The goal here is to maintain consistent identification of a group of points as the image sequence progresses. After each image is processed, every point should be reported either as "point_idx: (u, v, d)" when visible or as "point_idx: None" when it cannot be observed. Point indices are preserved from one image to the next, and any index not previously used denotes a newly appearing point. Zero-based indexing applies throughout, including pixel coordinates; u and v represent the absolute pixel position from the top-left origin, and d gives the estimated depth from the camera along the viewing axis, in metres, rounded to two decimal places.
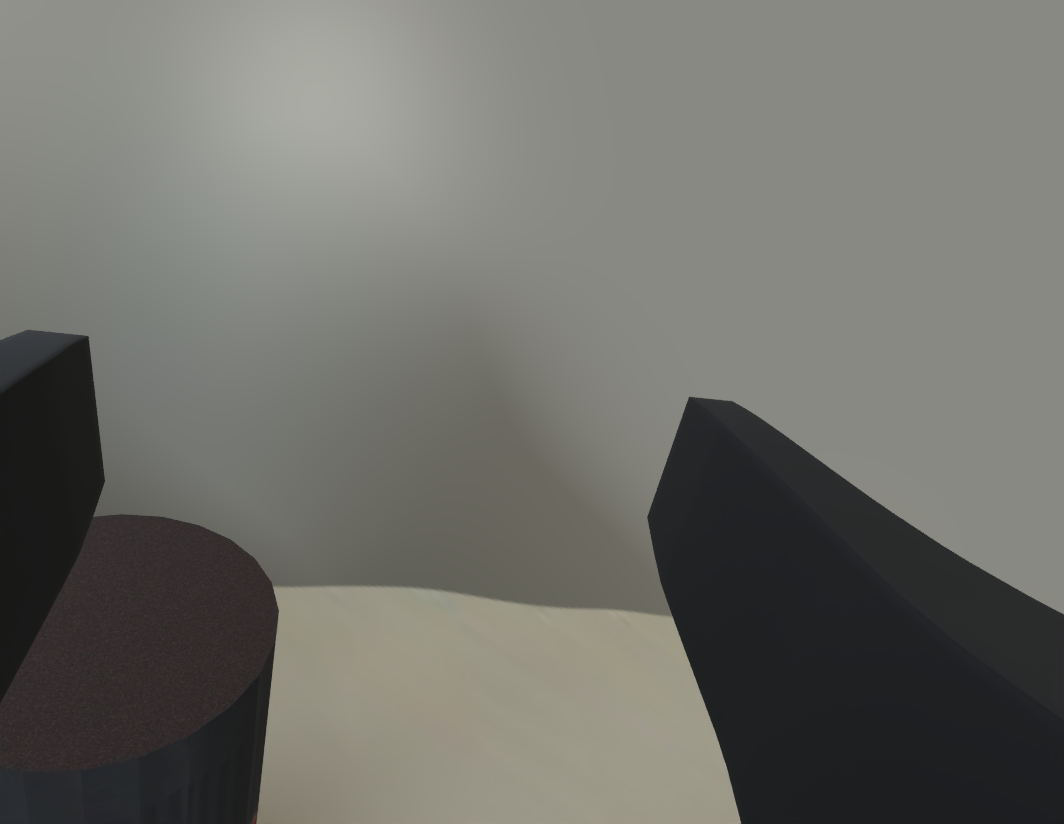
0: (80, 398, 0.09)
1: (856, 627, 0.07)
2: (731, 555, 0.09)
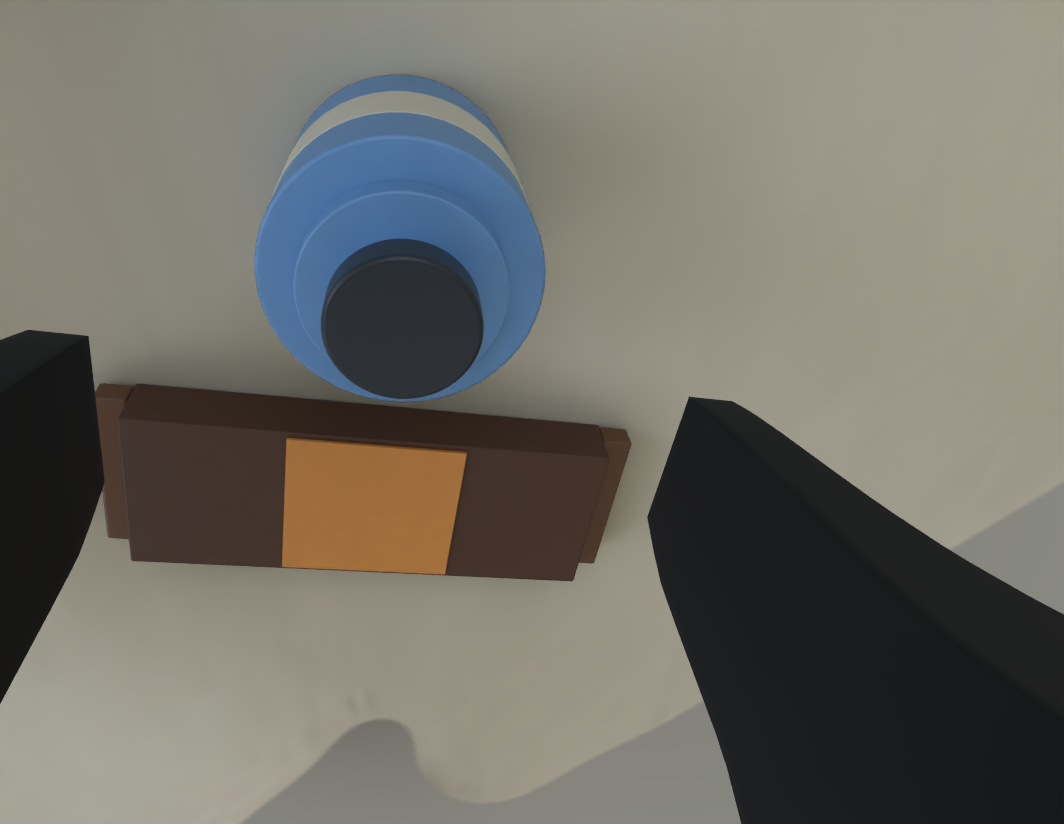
0: (80, 399, 0.09)
1: (856, 627, 0.07)
2: (731, 555, 0.09)
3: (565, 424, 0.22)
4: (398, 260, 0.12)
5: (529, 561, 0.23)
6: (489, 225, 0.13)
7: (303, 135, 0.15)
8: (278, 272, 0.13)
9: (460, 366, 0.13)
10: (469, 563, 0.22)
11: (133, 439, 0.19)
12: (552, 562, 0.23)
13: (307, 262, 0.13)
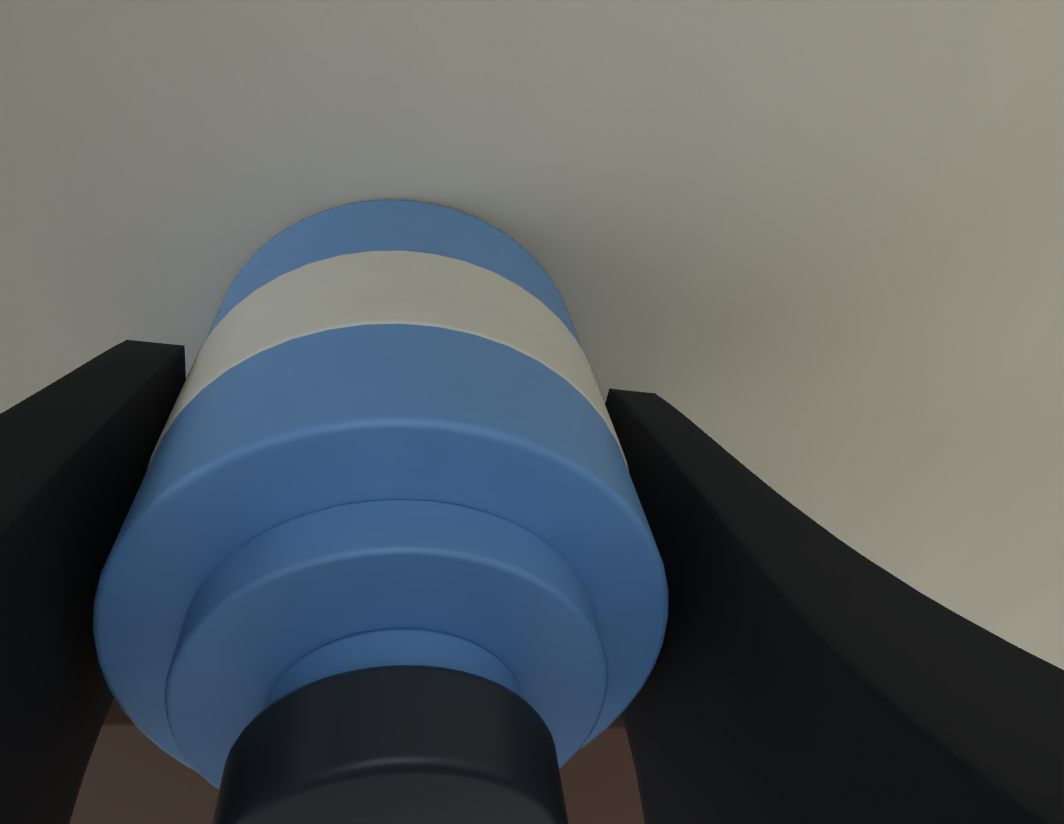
0: None
1: (741, 623, 0.06)
2: None
3: None
4: (380, 765, 0.05)
5: None
6: (569, 563, 0.07)
7: (215, 332, 0.08)
8: (144, 655, 0.07)
9: None
10: None
11: None
12: None
13: (191, 676, 0.06)
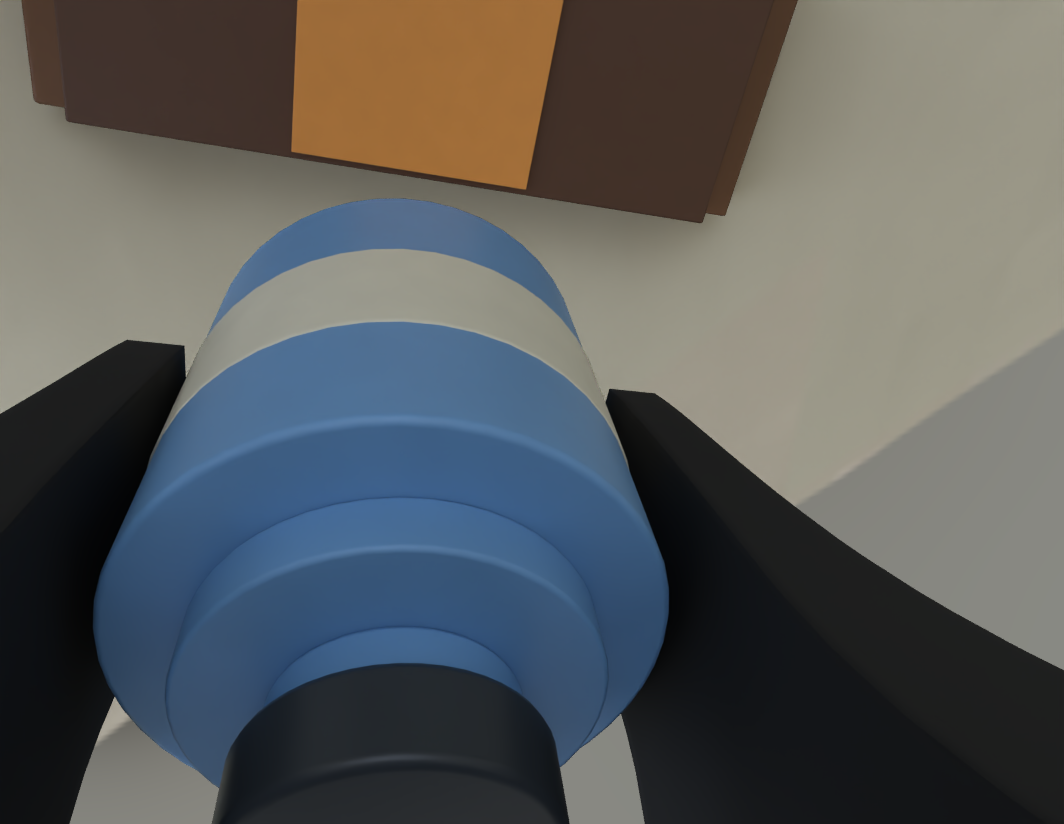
0: None
1: (741, 623, 0.06)
2: None
3: None
4: (380, 763, 0.05)
5: (645, 178, 0.16)
6: (569, 561, 0.07)
7: (216, 331, 0.08)
8: (144, 654, 0.07)
9: None
10: (561, 174, 0.15)
11: None
12: (678, 184, 0.16)
13: (191, 674, 0.06)
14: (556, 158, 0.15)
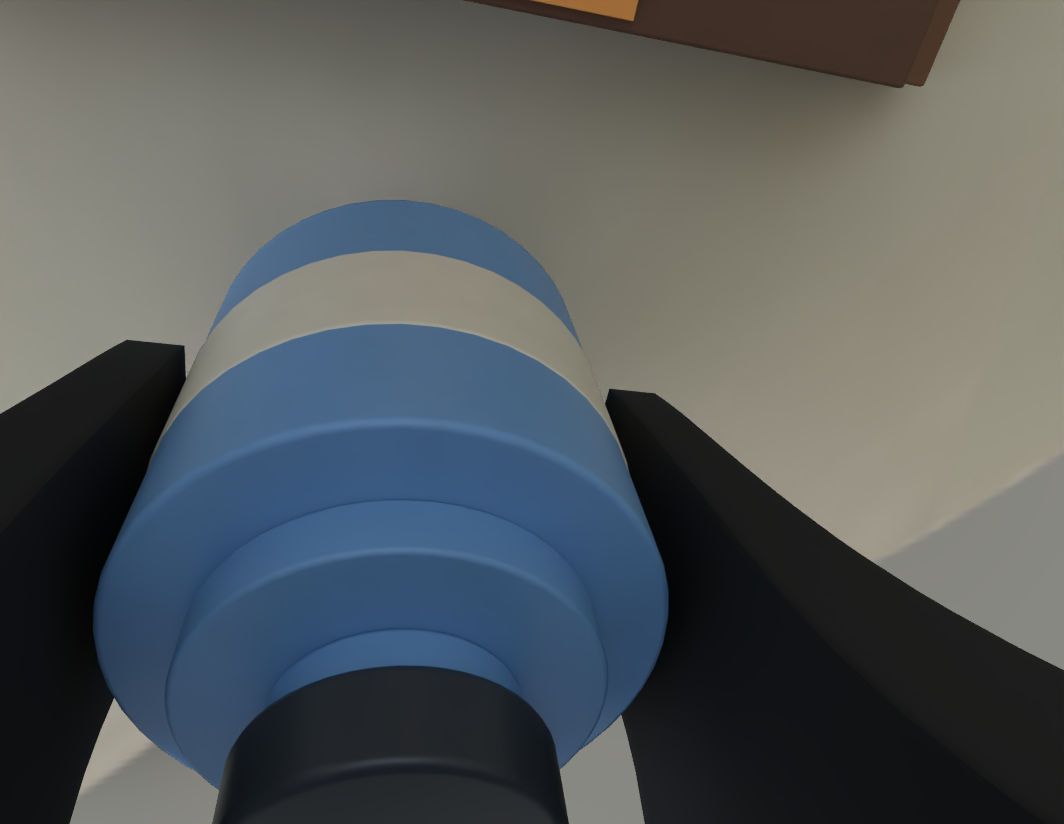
0: None
1: (740, 623, 0.06)
2: None
3: None
4: (380, 766, 0.05)
5: (825, 6, 0.10)
6: (568, 563, 0.07)
7: (215, 332, 0.08)
8: (143, 655, 0.07)
9: None
10: None
11: None
12: (874, 18, 0.10)
13: (190, 676, 0.06)
14: None
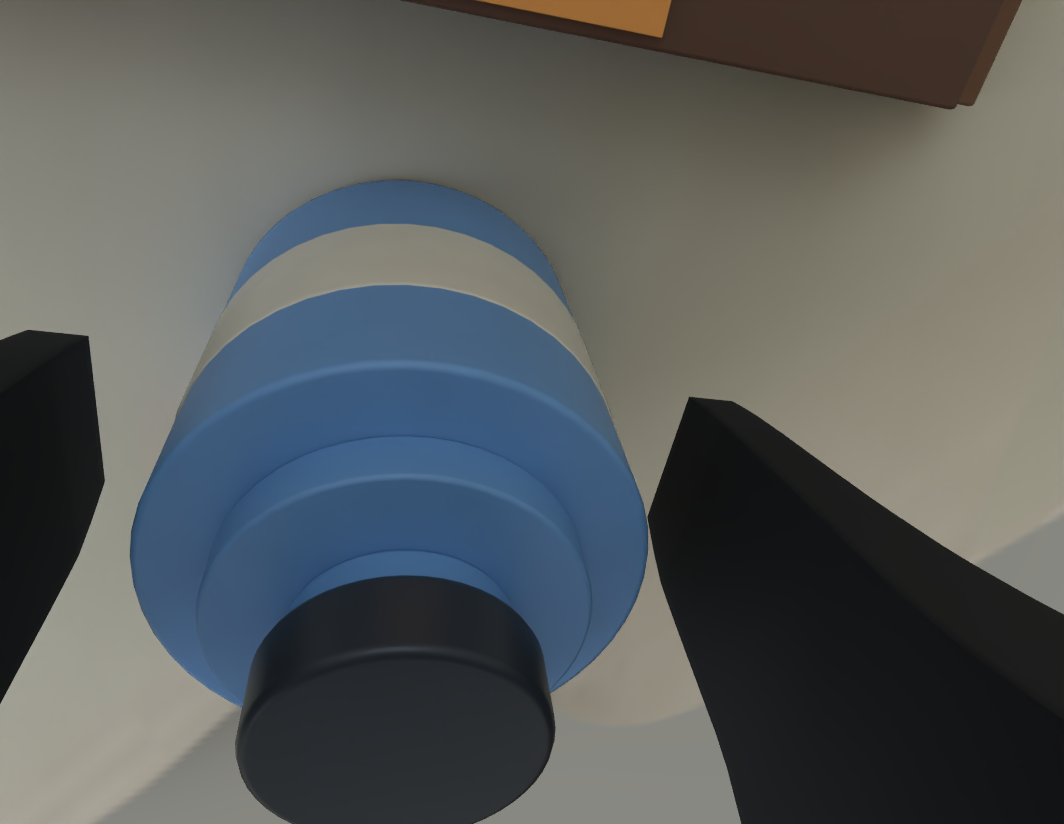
0: (81, 399, 0.09)
1: (856, 627, 0.07)
2: (731, 555, 0.09)
3: None
4: (389, 653, 0.06)
5: (872, 21, 0.09)
6: (556, 498, 0.07)
7: (236, 298, 0.09)
8: (175, 581, 0.07)
9: (508, 791, 0.07)
10: (726, 10, 0.08)
11: None
12: (927, 34, 0.09)
13: (219, 592, 0.07)
14: None
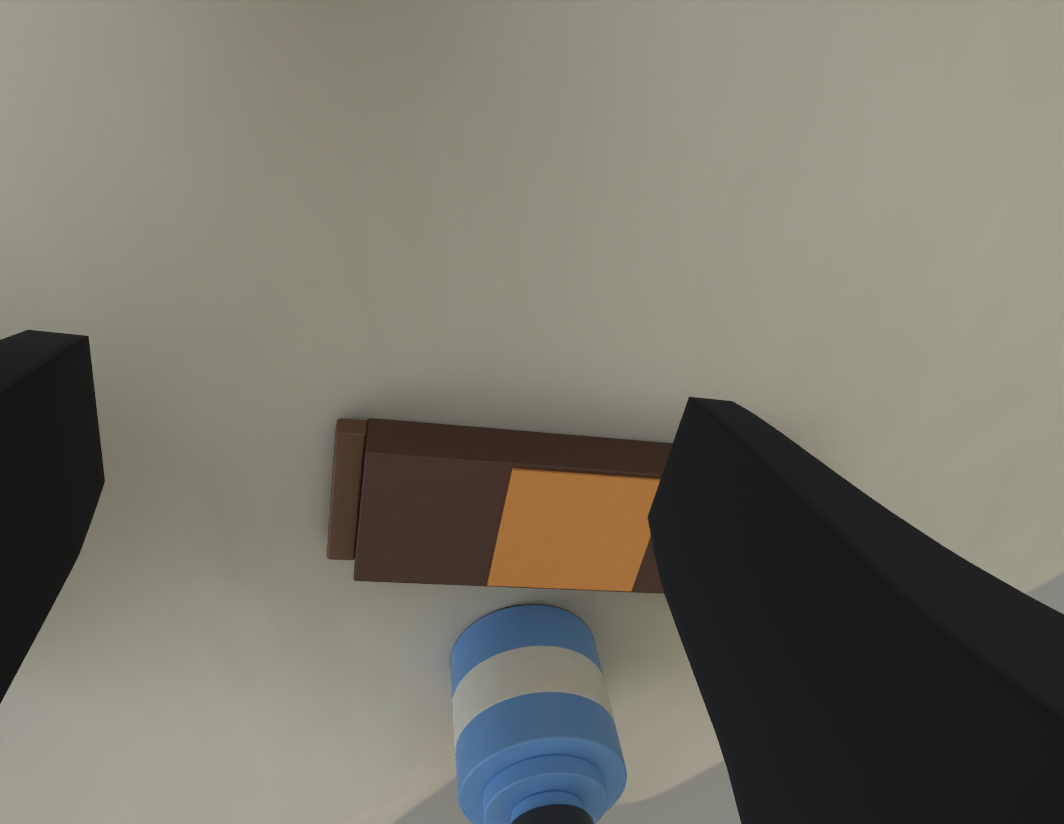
0: (81, 398, 0.09)
1: (856, 627, 0.07)
2: (731, 555, 0.09)
3: None
4: None
5: None
6: (596, 767, 0.23)
7: (474, 675, 0.24)
8: (472, 794, 0.23)
9: None
10: (654, 581, 0.24)
11: (376, 471, 0.20)
12: None
13: (494, 803, 0.22)
14: (651, 574, 0.24)
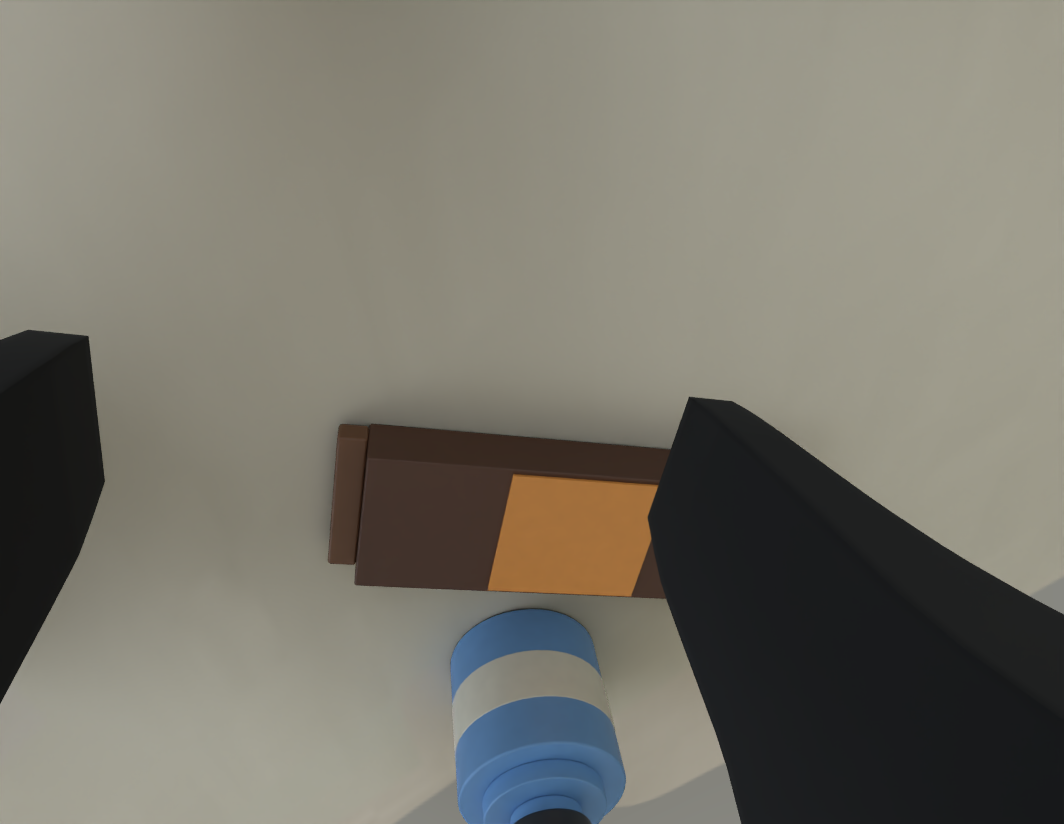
0: (81, 399, 0.09)
1: (856, 627, 0.07)
2: (731, 555, 0.09)
3: None
4: None
5: None
6: (595, 771, 0.23)
7: (474, 679, 0.25)
8: (472, 798, 0.23)
9: None
10: (653, 586, 0.24)
11: (378, 476, 0.20)
12: None
13: (494, 807, 0.22)
14: (651, 579, 0.24)
